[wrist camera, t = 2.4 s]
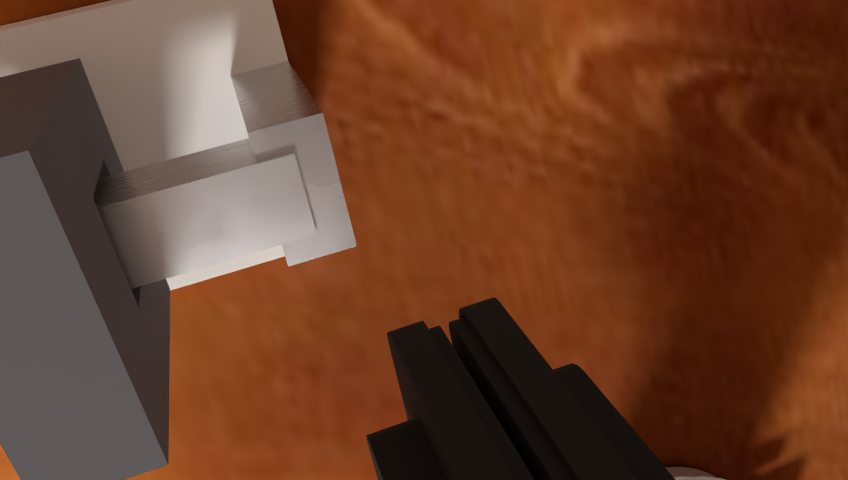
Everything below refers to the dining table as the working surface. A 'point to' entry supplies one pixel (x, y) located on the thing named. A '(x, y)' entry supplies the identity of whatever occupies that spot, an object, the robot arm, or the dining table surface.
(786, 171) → the dining table surface
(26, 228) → the collar
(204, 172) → the white frame stand
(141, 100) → the base board
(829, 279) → the dining table surface
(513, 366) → the robot arm
